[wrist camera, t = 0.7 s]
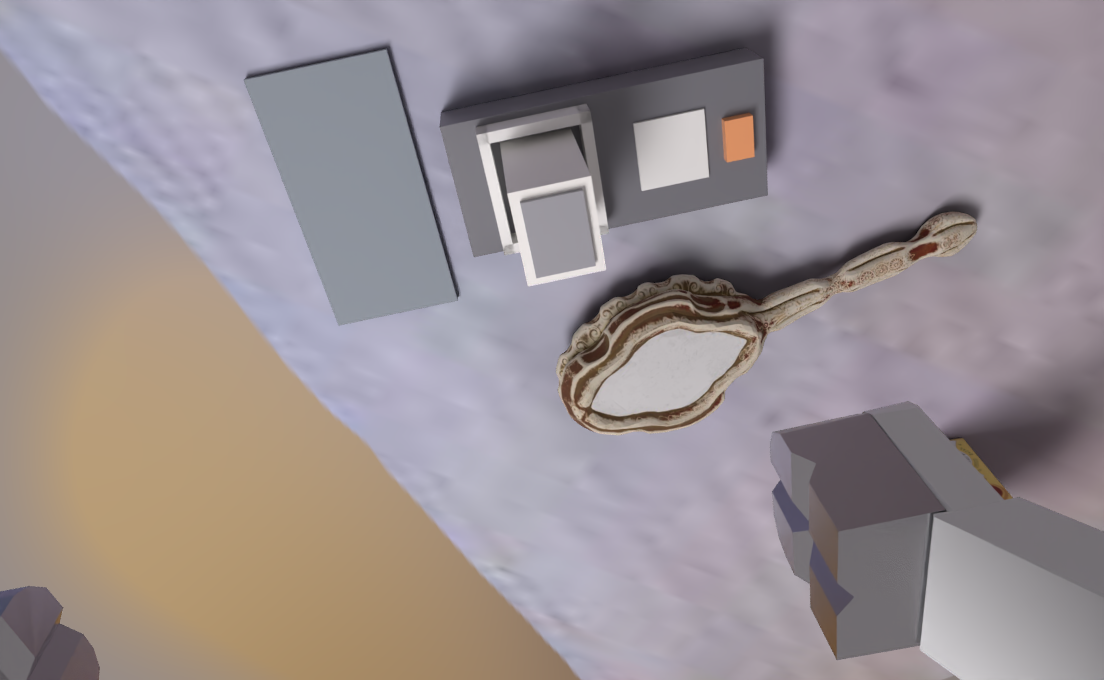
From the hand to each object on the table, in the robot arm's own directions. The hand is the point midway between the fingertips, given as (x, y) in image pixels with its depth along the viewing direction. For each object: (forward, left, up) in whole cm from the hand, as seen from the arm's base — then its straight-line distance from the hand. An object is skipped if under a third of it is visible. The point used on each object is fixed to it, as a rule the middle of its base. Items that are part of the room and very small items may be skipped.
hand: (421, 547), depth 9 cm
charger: (+9, +3, -36) cm, 37 cm away
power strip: (+9, +7, -39) cm, 41 cm away
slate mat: (+9, -8, -39) cm, 41 cm away
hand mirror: (+22, +16, -39) cm, 48 cm away
